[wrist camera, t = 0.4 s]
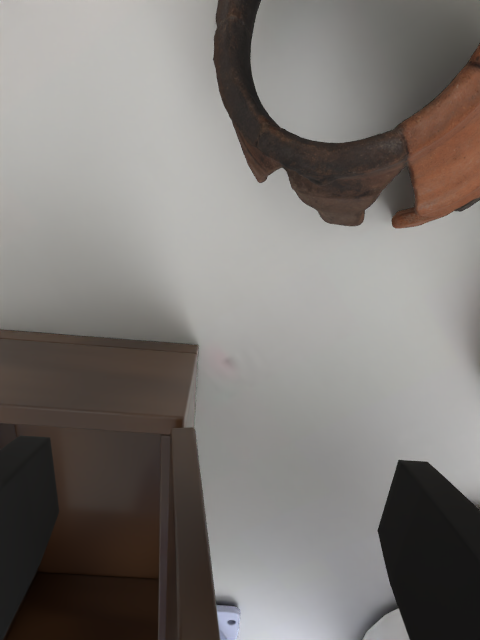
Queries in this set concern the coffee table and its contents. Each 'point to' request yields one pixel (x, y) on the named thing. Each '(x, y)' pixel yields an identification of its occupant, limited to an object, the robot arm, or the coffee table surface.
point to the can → (388, 628)
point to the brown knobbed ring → (357, 156)
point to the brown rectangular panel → (188, 547)
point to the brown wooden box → (99, 476)
